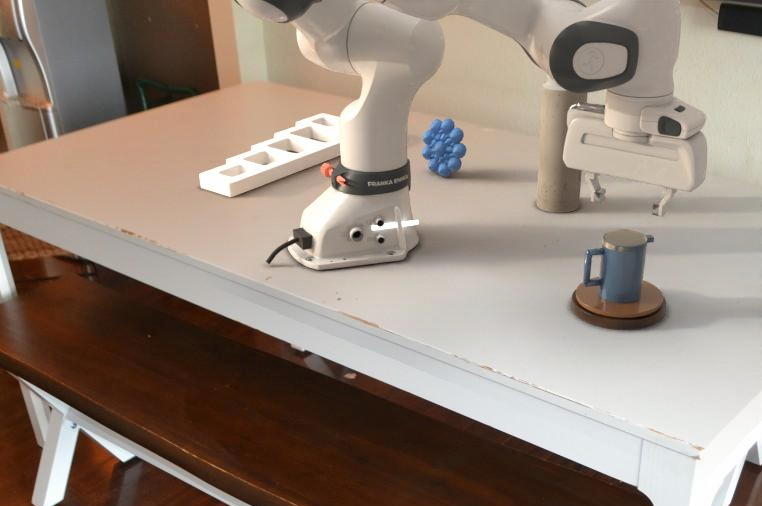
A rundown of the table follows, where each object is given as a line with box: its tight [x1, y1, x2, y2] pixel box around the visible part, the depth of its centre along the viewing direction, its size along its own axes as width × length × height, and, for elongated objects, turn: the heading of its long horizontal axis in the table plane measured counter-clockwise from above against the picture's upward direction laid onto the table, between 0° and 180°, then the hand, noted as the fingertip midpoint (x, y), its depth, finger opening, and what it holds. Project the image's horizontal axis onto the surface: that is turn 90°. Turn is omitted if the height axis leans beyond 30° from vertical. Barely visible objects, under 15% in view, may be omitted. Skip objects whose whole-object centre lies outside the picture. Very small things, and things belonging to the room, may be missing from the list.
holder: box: [198, 112, 341, 198], centre depth 207 cm, size 45×18×3 cm, turn 143°
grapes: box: [421, 117, 467, 178], centre depth 195 cm, size 12×7×12 cm, turn 45°
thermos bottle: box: [536, 73, 589, 214], centre depth 177 cm, size 8×8×28 cm
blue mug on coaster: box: [575, 228, 664, 318], centre depth 145 cm, size 13×13×10 cm
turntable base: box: [570, 289, 667, 331], centre depth 148 cm, size 14×14×2 cm
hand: (627, 208), depth 140 cm, fingers open, 8 cm apart
